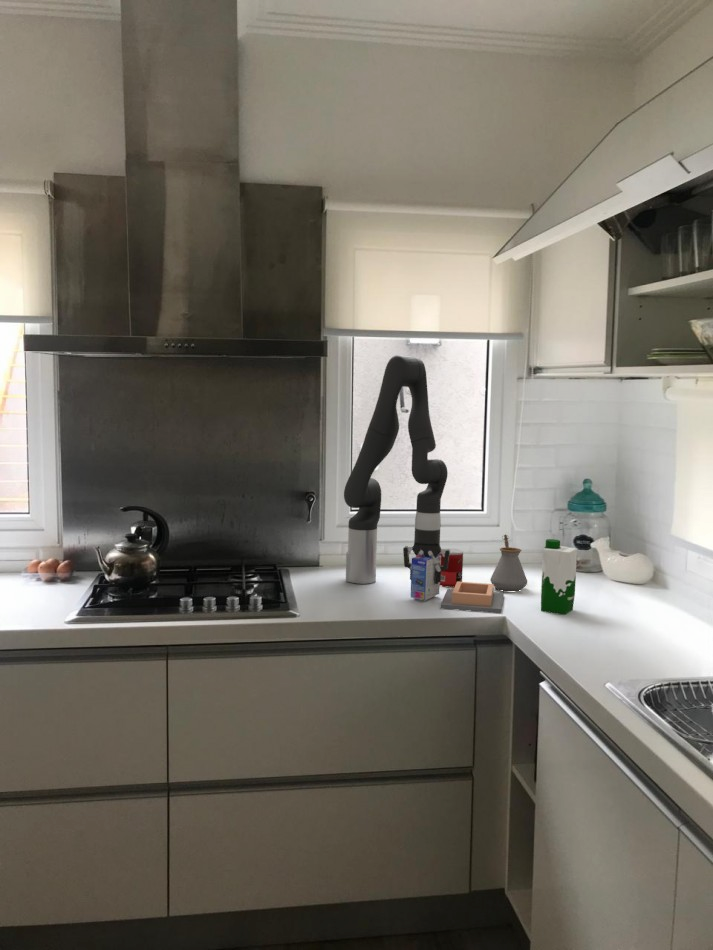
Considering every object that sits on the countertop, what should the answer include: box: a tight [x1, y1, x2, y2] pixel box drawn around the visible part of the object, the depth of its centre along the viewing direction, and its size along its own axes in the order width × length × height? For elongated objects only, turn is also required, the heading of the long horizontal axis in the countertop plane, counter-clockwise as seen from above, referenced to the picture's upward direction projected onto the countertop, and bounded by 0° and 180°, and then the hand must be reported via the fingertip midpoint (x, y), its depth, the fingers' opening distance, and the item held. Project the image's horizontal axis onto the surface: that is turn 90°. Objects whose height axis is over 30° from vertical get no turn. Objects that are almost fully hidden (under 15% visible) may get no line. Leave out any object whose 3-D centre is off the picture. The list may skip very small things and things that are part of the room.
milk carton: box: [540, 538, 578, 616], centre depth 237 cm, size 9×9×20 cm
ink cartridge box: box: [410, 548, 441, 601], centre depth 247 cm, size 10×6×14 cm, turn 149°
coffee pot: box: [490, 534, 528, 592], centre depth 266 cm, size 21×12×15 cm, turn 176°
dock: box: [439, 581, 505, 614], centre depth 244 cm, size 17×20×4 cm
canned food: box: [439, 548, 464, 588], centre depth 266 cm, size 8×8×11 cm
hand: (425, 582), depth 247 cm, fingers closed on ink cartridge box, 6 cm apart
